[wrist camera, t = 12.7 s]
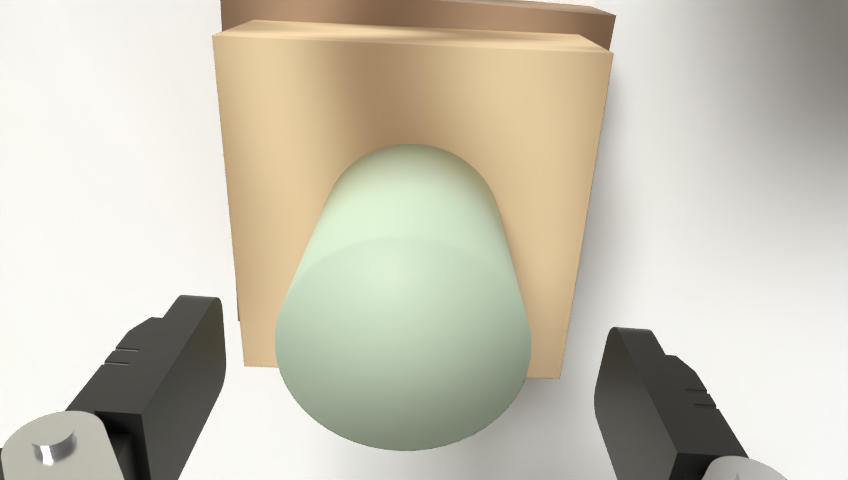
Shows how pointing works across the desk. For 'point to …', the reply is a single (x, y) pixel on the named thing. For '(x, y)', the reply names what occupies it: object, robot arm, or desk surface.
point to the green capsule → (405, 305)
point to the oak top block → (408, 124)
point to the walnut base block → (431, 16)
